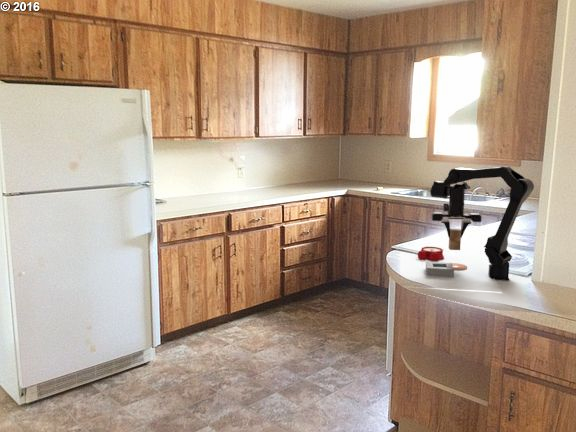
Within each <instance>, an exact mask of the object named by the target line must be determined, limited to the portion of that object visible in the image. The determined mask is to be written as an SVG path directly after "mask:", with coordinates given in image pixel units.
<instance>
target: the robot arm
mask: <svg viewBox="0 0 576 432" xmlns="http://www.w3.org/2000/svg"><path fill="white" fill-rule="evenodd" d="M447 175H448V176H447V177H446V178H445V179H444V181H439V180H434V181H433V183H432V185H431V189H430V192H429V193H430V196H431V197H432V198H435V199H448V198H449V199H448V200H449V201H448V203H443V207H442V209H443V210H442V211H432V212H431V217H430V219H431V220H432V222H433V221H434V222H441V223H442V224H444V226H445V229H446V233H447V236H448V239H449V238H450V227H451V223H450V220H461V225H460V230H461V239H462V237H463V235H464V233H465V231H466V229H467V227H468V226H469V225H471V224H472V222H473V223H474V222H475V223H481V222H482V215H481V214H480V213H479V212H469V214H464V210H465V193H466V190H469V189H471V186H470V185H469V184H468V183H467V182H468V181H472V180H476V179H489V178H491V179H492V178H501V179H502V180H503V181H504V183H505V184H506V185H507V186H508V187H509V188H510V191H509V202H508V204H507V207H506V209H505V211H504V214H503V216H502V218H501V221H500V224H499V225H498V228H497V231H496V233H495V234H494V235H491V236H490V237H489V236H488V237H487V239H486V243H485V245H484V246H483V247H484V254H485V255H486V257H487V259H488V263H489V264H488V274H487V275H488V277H489V278H490V279H492V280H498V281H510V277H509V274H510V262H511V260H512V258H513V256H512V254H511V253H510V252H509V251H508V249H507V248H508V243H509V241H508V239H509V236H510V233H511V231H512V229H513V226H514V224H515V221H516V220H517V218H518V215H519V212H520V210H521V208H522V206H523V204H524V203H525V201H526V200H527V199H528V198H529V196H530V195H531V194H532V192H533V191H534V189H535V185H534V183H533V181H532V180H531V179H529V178H526V177H525V176H523V175H522V174H520V173H519V172H517V171H515V170H514V169H513V168H511V166H508V165H504V166H500V167H499V166H498V167H488V168H487V167H486V168H478V169H474V168H467V167H457V168H456V167H455V168H452V169H450V171H449V173H448V174H447ZM459 183H462V184H459ZM442 212H444V213H445V212H446V213H445V214H444V213H442Z"/></svg>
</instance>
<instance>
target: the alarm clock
mask: <svg viewBox="0 0 576 432" xmlns="http://www.w3.org/2000/svg"><path fill="white" fill-rule="evenodd" d="M420 249H421V250H419V251H418V252H417V258H418V259H419V260H421V261H423V260H425V261H433V262H438V261H442V260H444V258H445V256H444V252H443V251H444V250H445V249H443V248H441V247H436V246H424V247H421V248H420Z"/></svg>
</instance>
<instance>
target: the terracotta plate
mask: <svg viewBox="0 0 576 432" xmlns="http://www.w3.org/2000/svg"><path fill="white" fill-rule="evenodd" d="M451 263H452V265H453V268H454V271H465V270H467V269H468V266H467V265H466V264H462V263H457V262H451Z"/></svg>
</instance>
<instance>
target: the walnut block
mask: <svg viewBox="0 0 576 432" xmlns="http://www.w3.org/2000/svg"><path fill="white" fill-rule="evenodd" d="M461 239H462V238H461V228H450V238H449V237H448V249H449V250H450V251H460V250H461V243H462V241H461Z"/></svg>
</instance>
